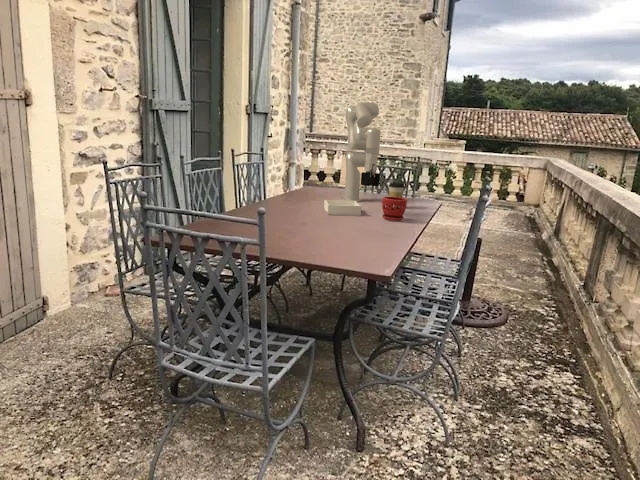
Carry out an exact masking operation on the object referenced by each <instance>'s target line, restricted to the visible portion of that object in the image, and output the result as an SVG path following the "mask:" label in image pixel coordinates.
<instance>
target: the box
mask: <svg viewBox="0 0 640 480" xmlns="http://www.w3.org/2000/svg"><path fill="white" fill-rule="evenodd" d="M323 201H324V202H323V210H324V211H326V212H325V213H326V214H327V216H353V217H354V216H355V217H358V216H360V217H361V214H362V205H361V204H360V203H359V202H356V201H343V200H342V199H339V200H338V199H335V200H334V199H329V200H328V199H324V200H323Z"/></svg>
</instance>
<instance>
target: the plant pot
mask: <svg viewBox="0 0 640 480" xmlns="http://www.w3.org/2000/svg"><path fill="white" fill-rule="evenodd" d="M381 203H382V204H381V205H382V212H383V214H382V218H383V219H384V220H387V221H390V222H399V221H402V220H403V219H404V216H403V215H405V213H406V212H405V211H406V210H407V205H408V204H407V203H408V199H407V198H405V197H402V198H399V197H389V196H383V197H382V202H381ZM393 205H394V207H393ZM396 206H397V207H396ZM398 206H399V207H398Z"/></svg>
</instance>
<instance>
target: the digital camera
mask: <svg viewBox="0 0 640 480" xmlns="http://www.w3.org/2000/svg"><path fill="white" fill-rule="evenodd" d="M369 177H370V173H367V171H366V172H364V171H363V172H360V186H368V187H369V186H370V187H380V179H381V173H380V172H379V173H377V172H375V182H374V184H369Z"/></svg>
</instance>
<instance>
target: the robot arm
mask: <svg viewBox="0 0 640 480" xmlns="http://www.w3.org/2000/svg"><path fill="white" fill-rule="evenodd" d="M379 113H380V108H379V105H378V104H377V103H376V102H375V103H374V102H365V101H364V102H358V103H357V104H356V105H351V106H348V107H346V108H345V113H344V114H345V115H344V116H345V122H346V124H347V146H348V149H350V150H355V151H350V152H347V153H346V154H345V180H344V181H345V183H344V196H343V197H342V198H341V200H343V201H356V202H357V203H359V202H361V201H362V198H360V189H361V188H360V187H361V172H360V170H359V169H358V168H364V170H365V171H366V172H367V173H370V177H369V184H374V182H375V173H377V169H378V167H377V166H378V155H380V144H381V133H382V132H381V130H380V129H378V128H376V127H375V128H374V127H368V126H370V125H371V124H372V122H373V120H375V119H376V118H378V115H379ZM363 151H364V152H363Z"/></svg>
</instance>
